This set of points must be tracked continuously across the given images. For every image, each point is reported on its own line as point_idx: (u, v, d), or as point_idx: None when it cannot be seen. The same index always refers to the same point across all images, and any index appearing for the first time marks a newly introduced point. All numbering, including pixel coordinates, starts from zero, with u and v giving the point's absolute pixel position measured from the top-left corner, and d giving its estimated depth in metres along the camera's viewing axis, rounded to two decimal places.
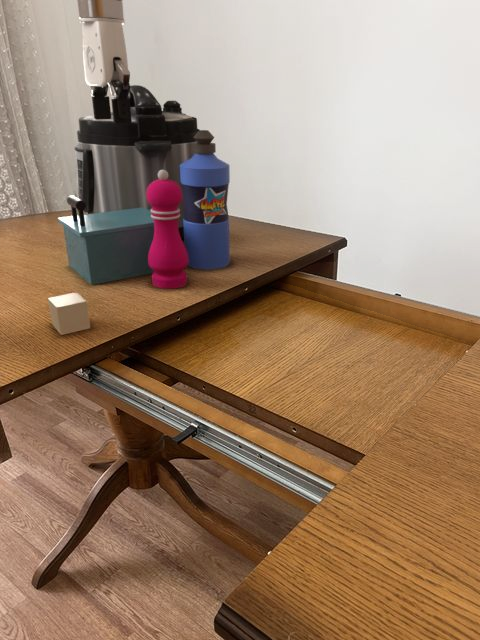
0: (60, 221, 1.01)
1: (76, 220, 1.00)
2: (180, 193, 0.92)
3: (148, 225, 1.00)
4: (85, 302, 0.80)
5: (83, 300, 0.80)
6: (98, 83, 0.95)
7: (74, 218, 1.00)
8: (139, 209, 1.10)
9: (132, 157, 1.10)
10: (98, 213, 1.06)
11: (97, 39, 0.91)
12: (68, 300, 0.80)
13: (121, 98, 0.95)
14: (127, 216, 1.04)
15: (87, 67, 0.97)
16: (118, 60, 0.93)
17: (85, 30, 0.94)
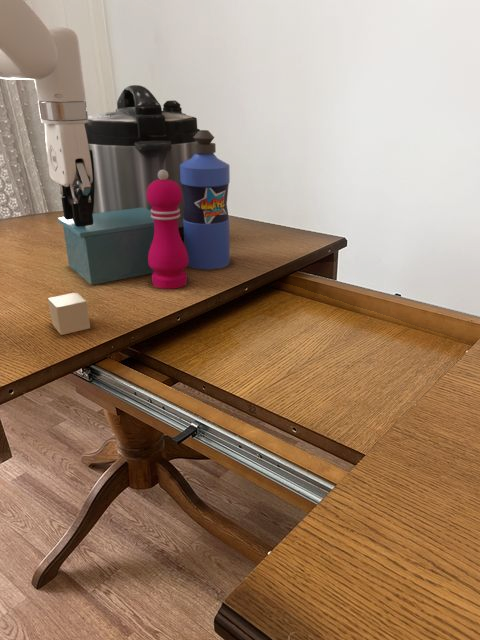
0: (60, 221, 1.01)
1: None
2: (180, 193, 0.92)
3: (148, 225, 1.00)
4: (85, 302, 0.80)
5: (83, 300, 0.80)
6: (61, 183, 0.92)
7: None
8: (139, 209, 1.10)
9: (132, 157, 1.10)
10: (98, 213, 1.06)
11: (58, 142, 0.88)
12: (68, 300, 0.80)
13: (81, 203, 0.94)
14: (127, 216, 1.04)
15: (50, 164, 0.94)
16: (81, 166, 0.90)
17: (47, 129, 0.91)
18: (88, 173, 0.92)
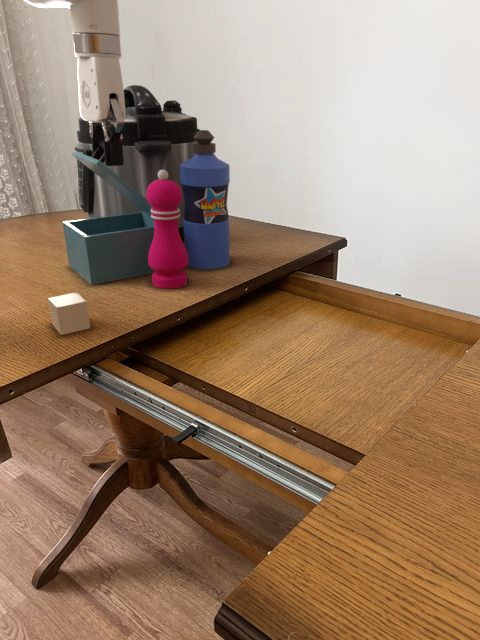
0: (76, 153, 0.98)
1: None
2: (180, 193, 0.92)
3: None
4: (85, 302, 0.80)
5: (83, 300, 0.80)
6: (93, 119, 0.91)
7: (92, 158, 0.97)
8: None
9: (132, 157, 1.10)
10: None
11: (92, 75, 0.88)
12: (68, 300, 0.80)
13: (113, 141, 0.93)
14: None
15: (82, 102, 0.94)
16: (114, 101, 0.90)
17: (80, 64, 0.90)
18: (121, 109, 0.91)
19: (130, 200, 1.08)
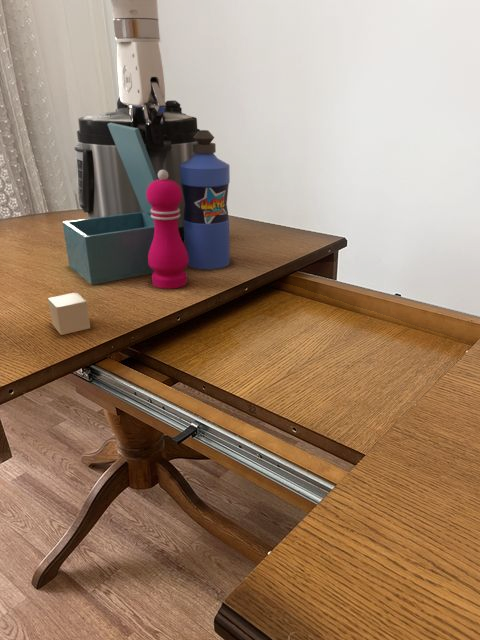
0: (112, 123, 1.00)
1: None
2: (180, 193, 0.92)
3: None
4: (85, 302, 0.80)
5: (83, 300, 0.80)
6: (135, 103, 0.94)
7: None
8: None
9: None
10: None
11: (134, 60, 0.90)
12: (68, 300, 0.80)
13: (154, 124, 0.96)
14: None
15: (122, 86, 0.96)
16: (155, 85, 0.92)
17: (121, 50, 0.93)
18: (162, 92, 0.93)
19: (137, 193, 1.08)
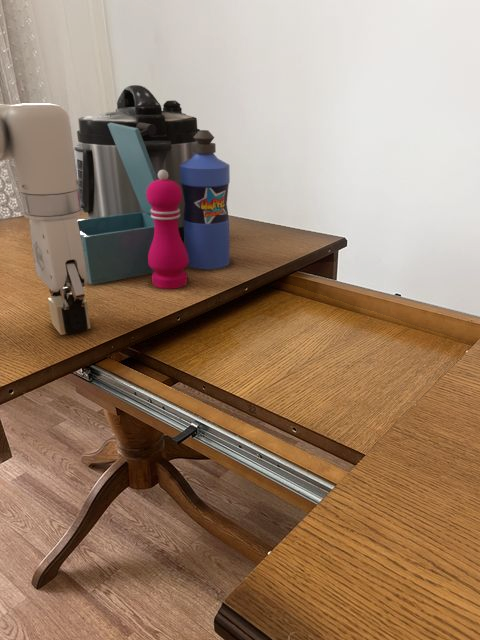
0: (112, 123, 1.00)
1: None
2: (180, 193, 0.92)
3: None
4: (85, 302, 0.80)
5: None
6: (49, 287, 0.76)
7: None
8: None
9: None
10: None
11: (44, 242, 0.72)
12: None
13: (73, 308, 0.78)
14: None
15: (36, 261, 0.78)
16: (72, 269, 0.74)
17: (31, 222, 0.75)
18: (82, 275, 0.75)
19: (137, 193, 1.08)
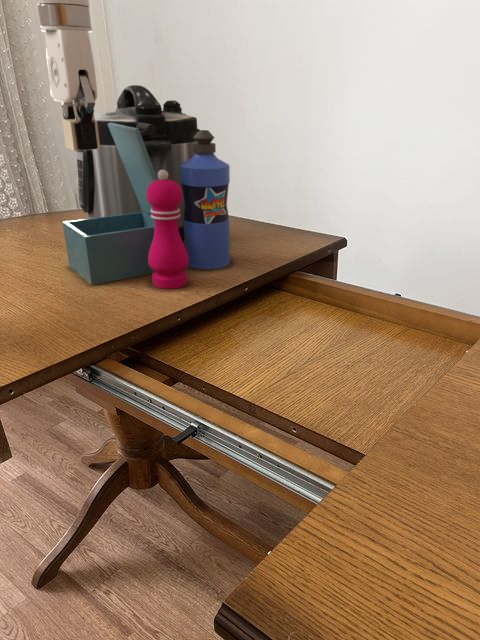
0: (112, 123, 1.00)
1: None
2: (180, 193, 0.92)
3: None
4: (95, 121, 0.89)
5: None
6: (63, 99, 0.85)
7: None
8: None
9: None
10: None
11: (59, 50, 0.81)
12: None
13: (85, 122, 0.87)
14: None
15: (52, 80, 0.87)
16: (84, 79, 0.83)
17: (48, 39, 0.84)
18: (92, 87, 0.84)
19: (137, 193, 1.08)
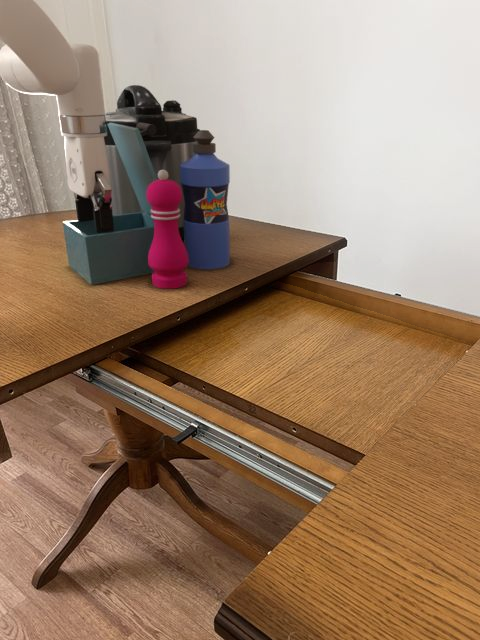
0: (112, 123, 1.00)
1: None
2: (180, 193, 0.92)
3: None
4: None
5: None
6: (80, 194, 0.95)
7: None
8: None
9: None
10: None
11: (78, 155, 0.91)
12: None
13: (103, 210, 0.94)
14: None
15: (69, 175, 0.97)
16: (100, 174, 0.92)
17: (67, 142, 0.94)
18: None
19: (137, 193, 1.08)
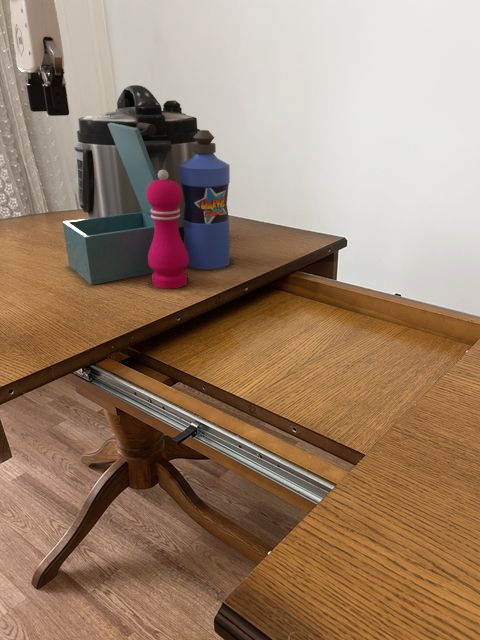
0: (112, 123, 1.00)
1: None
2: (180, 193, 0.92)
3: None
4: None
5: None
6: (28, 68, 0.81)
7: None
8: None
9: None
10: None
11: (23, 16, 0.78)
12: None
13: (54, 86, 0.81)
14: None
15: (17, 50, 0.84)
16: (49, 41, 0.79)
17: (12, 6, 0.80)
18: None
19: (137, 193, 1.08)
